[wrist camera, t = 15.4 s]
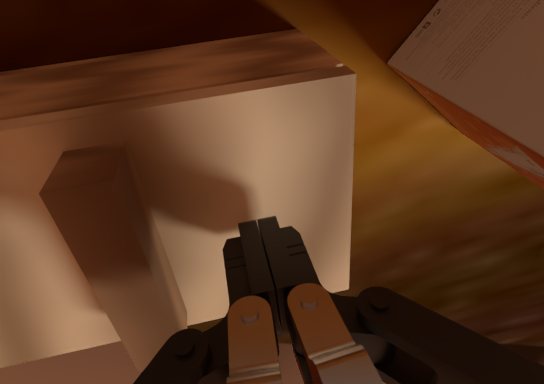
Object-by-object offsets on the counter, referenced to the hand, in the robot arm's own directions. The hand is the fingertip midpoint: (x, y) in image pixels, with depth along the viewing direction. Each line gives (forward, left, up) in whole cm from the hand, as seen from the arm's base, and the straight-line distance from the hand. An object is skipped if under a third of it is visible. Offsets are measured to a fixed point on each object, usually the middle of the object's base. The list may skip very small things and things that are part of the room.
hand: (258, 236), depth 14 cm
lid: (-5, 0, -2) cm, 5 cm away
